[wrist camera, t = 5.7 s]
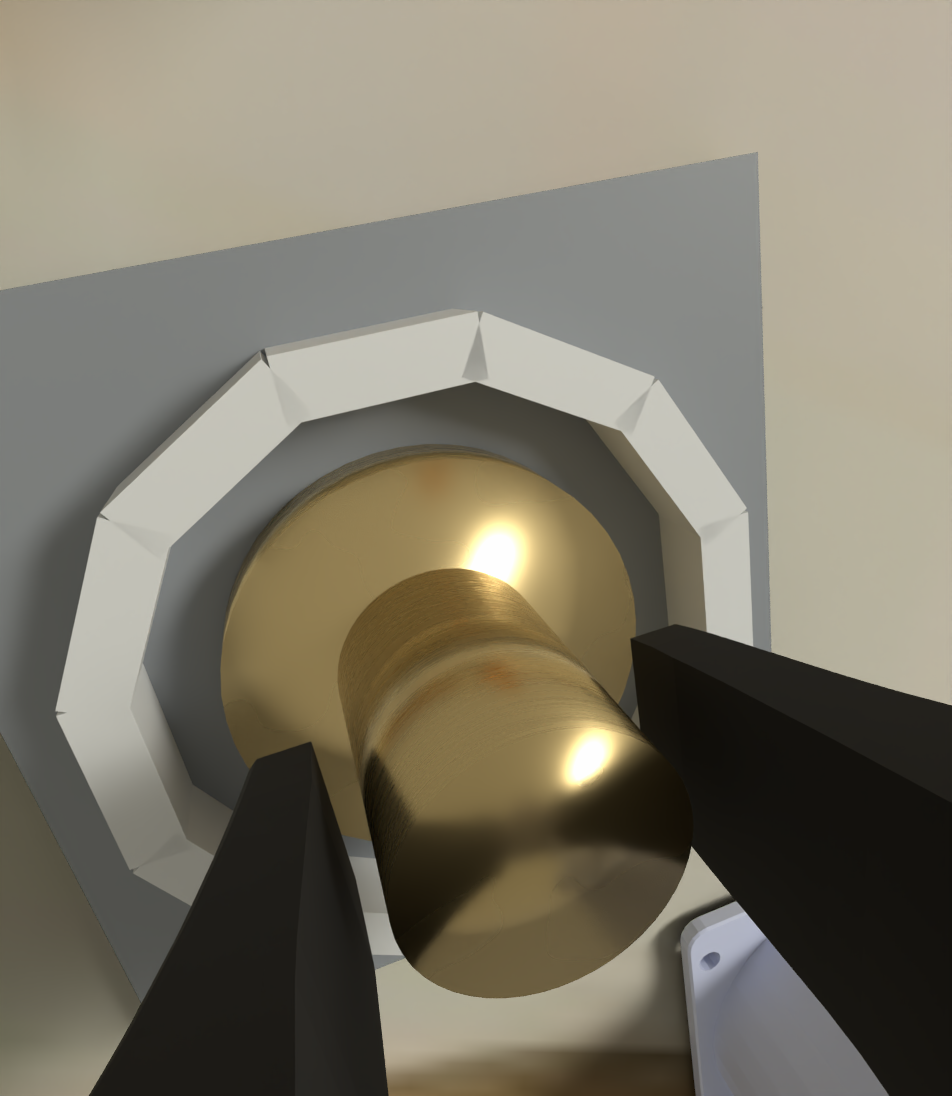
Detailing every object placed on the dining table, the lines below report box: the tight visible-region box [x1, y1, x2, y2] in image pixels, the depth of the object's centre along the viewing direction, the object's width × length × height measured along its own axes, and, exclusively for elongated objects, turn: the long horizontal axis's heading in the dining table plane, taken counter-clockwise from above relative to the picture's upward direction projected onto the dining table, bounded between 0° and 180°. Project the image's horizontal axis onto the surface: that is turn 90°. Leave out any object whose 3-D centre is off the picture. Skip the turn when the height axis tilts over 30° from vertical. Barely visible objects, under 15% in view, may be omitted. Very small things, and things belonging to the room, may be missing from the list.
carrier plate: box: [0, 152, 771, 1003], centre depth 11 cm, size 12×12×2 cm
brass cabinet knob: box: [220, 444, 693, 998], centre depth 9 cm, size 6×6×5 cm
